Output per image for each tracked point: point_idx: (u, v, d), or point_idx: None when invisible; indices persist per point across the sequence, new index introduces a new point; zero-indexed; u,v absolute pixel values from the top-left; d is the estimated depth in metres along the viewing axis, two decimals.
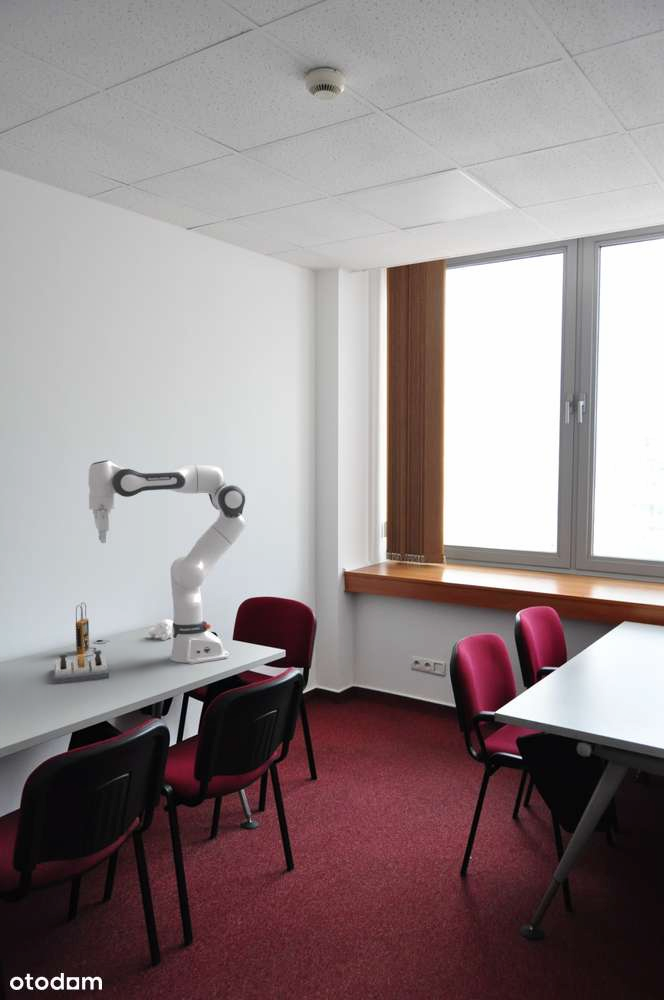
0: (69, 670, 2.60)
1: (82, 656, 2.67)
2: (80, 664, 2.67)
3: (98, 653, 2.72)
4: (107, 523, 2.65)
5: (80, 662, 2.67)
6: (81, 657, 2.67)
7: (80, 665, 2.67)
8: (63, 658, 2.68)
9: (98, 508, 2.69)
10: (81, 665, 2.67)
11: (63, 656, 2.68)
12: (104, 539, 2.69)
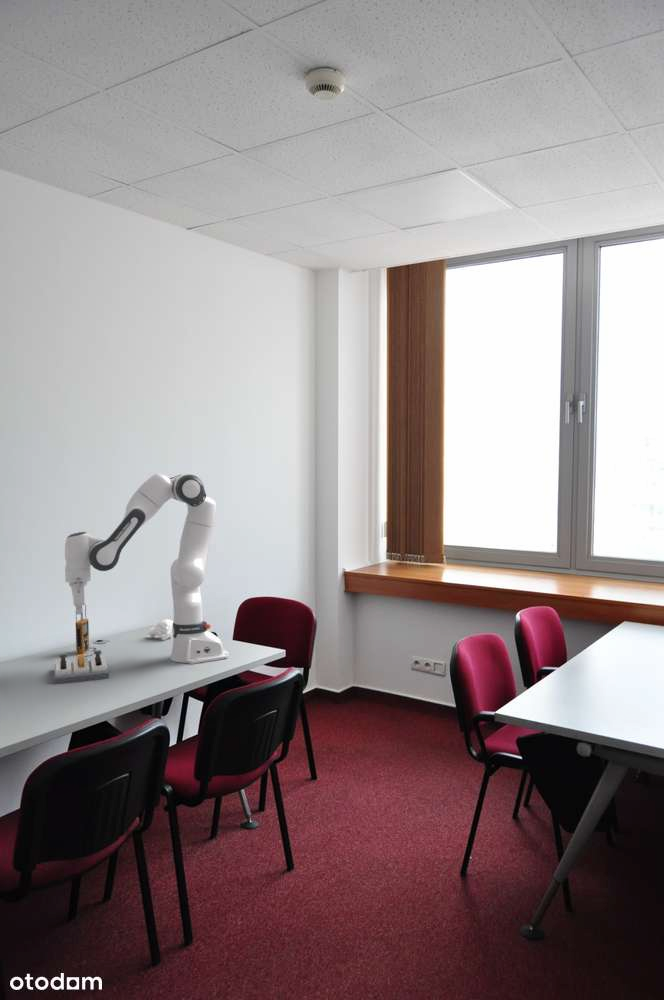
0: (69, 670, 2.60)
1: (82, 656, 2.67)
2: (80, 664, 2.67)
3: (98, 653, 2.72)
4: (83, 597, 2.63)
5: (80, 662, 2.67)
6: (81, 657, 2.67)
7: (80, 665, 2.67)
8: (63, 658, 2.68)
9: (74, 581, 2.67)
10: (81, 665, 2.67)
11: (63, 656, 2.68)
12: (79, 610, 2.71)
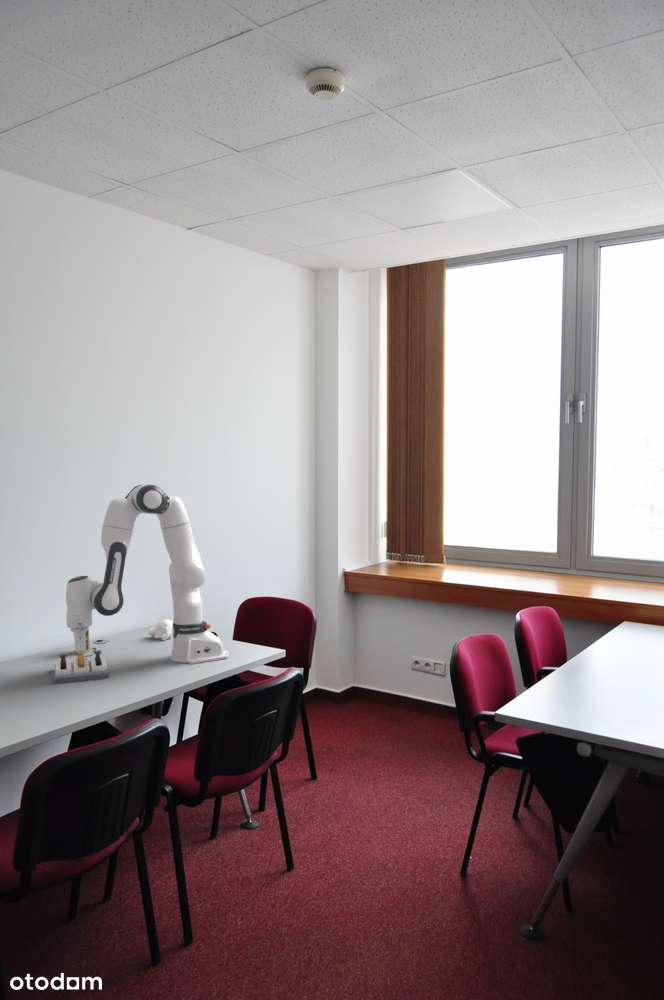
0: (69, 670, 2.60)
1: (82, 656, 2.66)
2: (80, 664, 2.66)
3: (98, 653, 2.72)
4: (84, 644, 2.60)
5: (80, 662, 2.66)
6: (81, 657, 2.66)
7: (80, 665, 2.66)
8: (63, 658, 2.68)
9: (75, 627, 2.64)
10: (81, 665, 2.66)
11: (63, 656, 2.68)
12: None
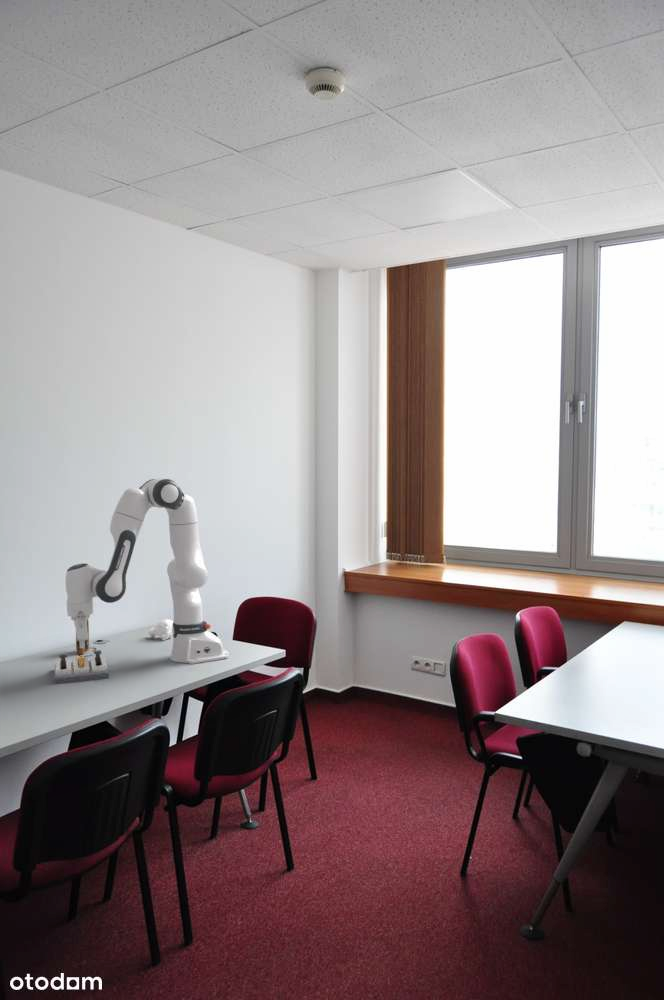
0: (69, 670, 2.60)
1: (82, 658, 2.63)
2: None
3: (98, 653, 2.72)
4: (86, 632, 2.56)
5: (80, 665, 2.63)
6: (81, 660, 2.63)
7: None
8: (63, 658, 2.68)
9: (76, 615, 2.60)
10: None
11: (63, 656, 2.68)
12: (83, 644, 2.64)
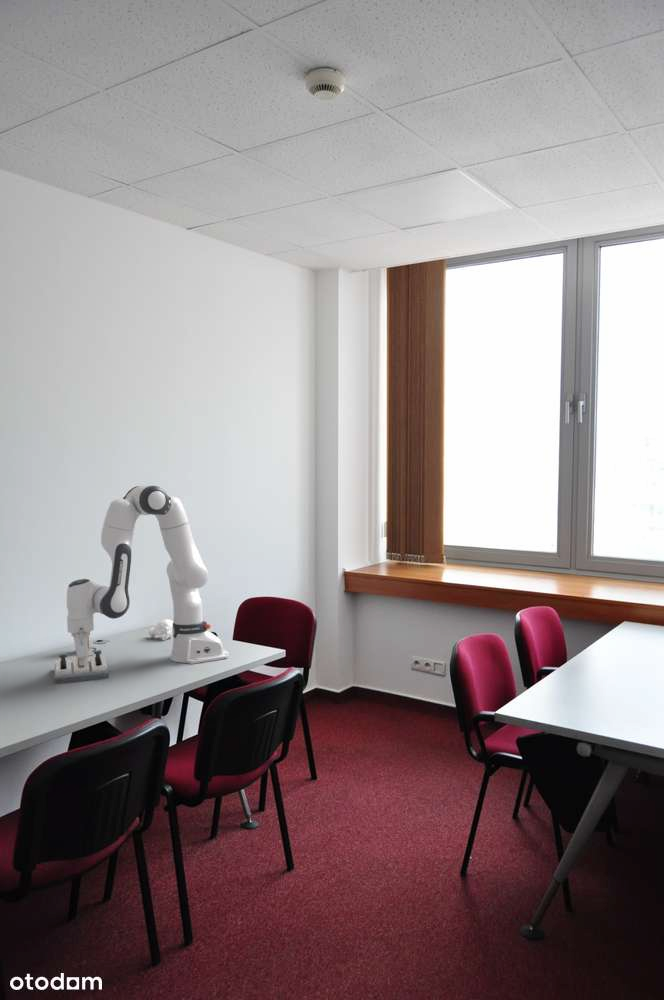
0: (69, 670, 2.60)
1: None
2: (80, 666, 2.63)
3: (98, 653, 2.72)
4: (86, 649, 2.53)
5: None
6: None
7: None
8: (63, 658, 2.68)
9: (77, 632, 2.57)
10: None
11: (63, 656, 2.68)
12: (83, 661, 2.61)
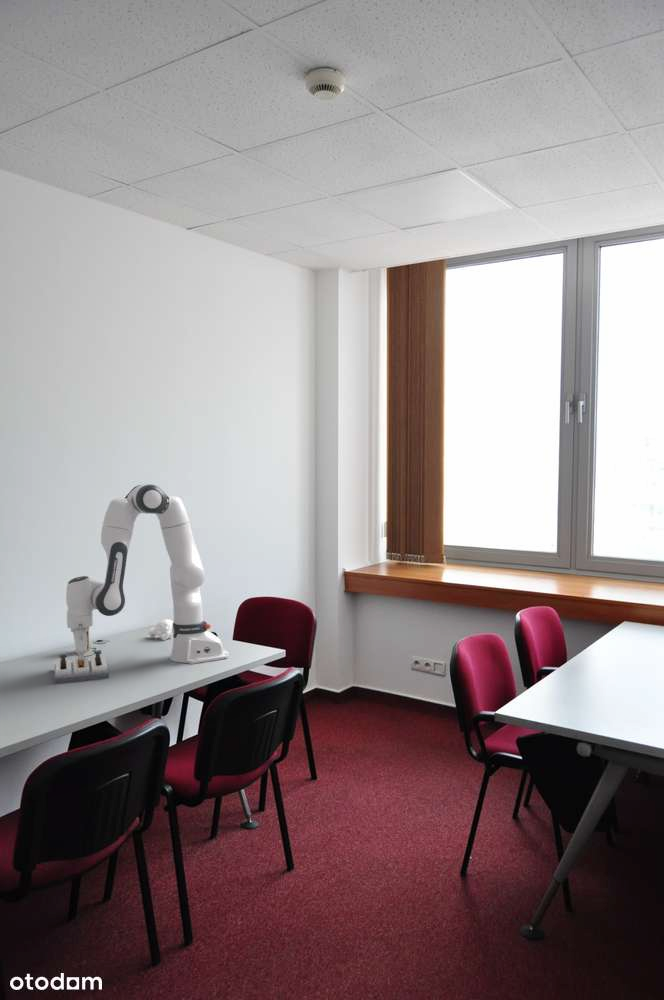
0: (69, 670, 2.60)
1: None
2: (80, 661, 2.70)
3: (98, 653, 2.72)
4: (85, 644, 2.60)
5: None
6: None
7: (80, 662, 2.70)
8: (63, 658, 2.68)
9: (76, 627, 2.64)
10: (81, 662, 2.70)
11: (63, 656, 2.68)
12: (82, 656, 2.68)
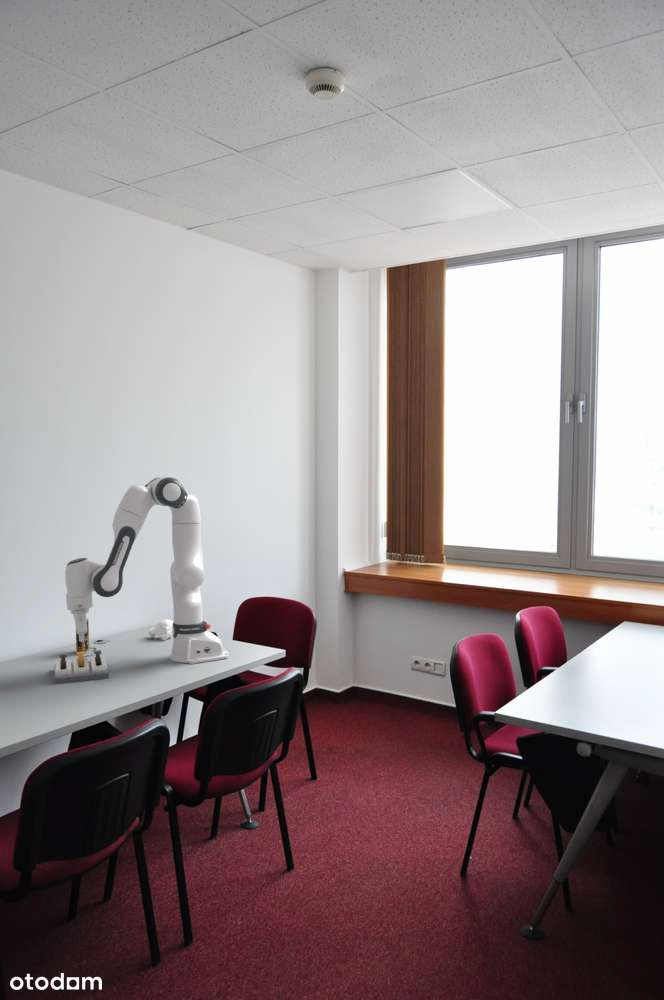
0: (69, 670, 2.60)
1: (82, 654, 2.70)
2: (80, 661, 2.70)
3: (98, 653, 2.72)
4: (85, 625, 2.60)
5: (80, 659, 2.70)
6: (81, 655, 2.70)
7: (80, 662, 2.70)
8: (63, 658, 2.68)
9: (76, 609, 2.64)
10: (81, 662, 2.70)
11: (63, 656, 2.68)
12: (82, 637, 2.68)
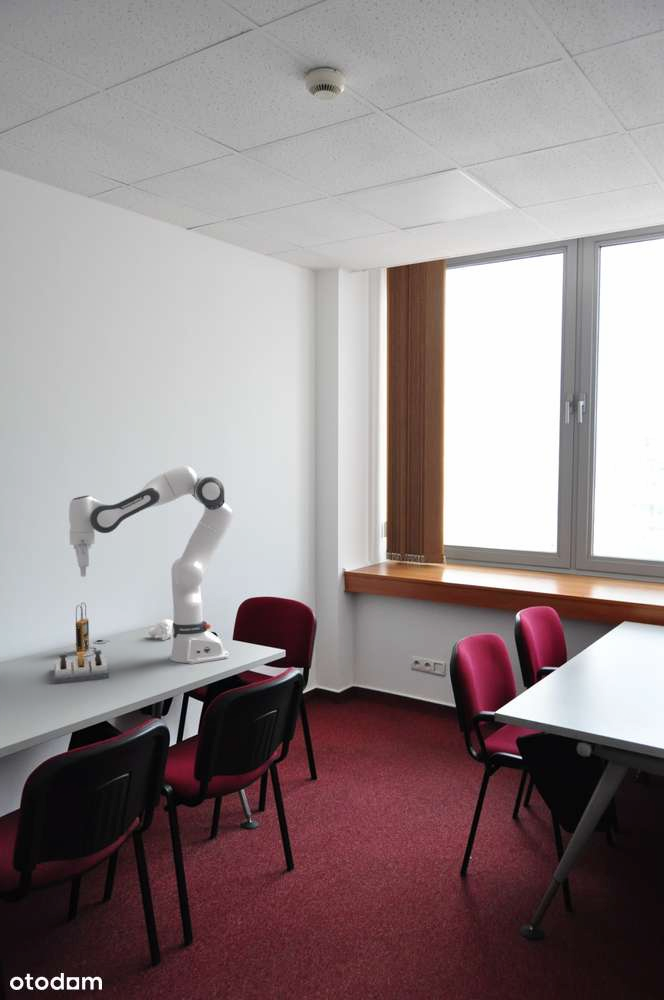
0: (69, 670, 2.60)
1: (82, 654, 2.70)
2: (80, 661, 2.70)
3: (98, 653, 2.72)
4: (87, 559, 2.67)
5: (80, 659, 2.70)
6: (81, 655, 2.70)
7: (80, 662, 2.70)
8: (63, 658, 2.68)
9: (78, 543, 2.71)
10: (81, 662, 2.70)
11: (63, 656, 2.68)
12: (84, 573, 2.75)
